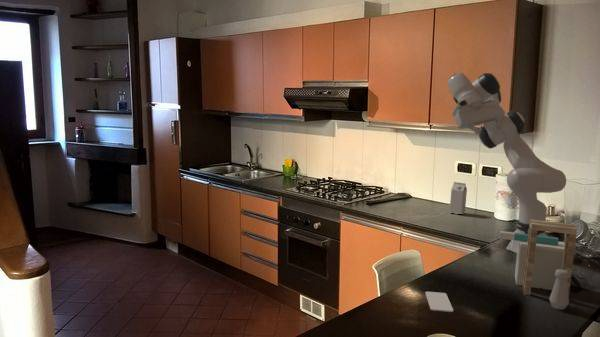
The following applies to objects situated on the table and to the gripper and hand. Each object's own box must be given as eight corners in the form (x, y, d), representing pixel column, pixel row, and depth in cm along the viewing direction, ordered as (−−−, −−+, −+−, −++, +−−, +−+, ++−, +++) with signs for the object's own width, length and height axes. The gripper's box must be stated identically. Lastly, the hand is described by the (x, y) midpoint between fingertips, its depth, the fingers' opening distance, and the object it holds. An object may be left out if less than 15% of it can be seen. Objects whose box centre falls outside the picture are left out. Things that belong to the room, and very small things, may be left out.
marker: (499, 236, 189) (500, 230, 189) (557, 243, 183) (557, 237, 182) (499, 238, 187) (500, 232, 187) (558, 245, 180) (558, 239, 180)
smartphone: (446, 293, 173) (454, 311, 158) (445, 295, 173) (453, 313, 158) (425, 291, 174) (430, 309, 159) (424, 293, 174) (430, 311, 159)
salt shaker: (551, 302, 169) (555, 266, 167) (569, 307, 165) (574, 270, 163) (546, 307, 164) (551, 270, 162) (565, 312, 161) (570, 274, 159)
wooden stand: (522, 287, 181) (530, 219, 177) (564, 293, 176) (573, 224, 173) (524, 294, 175) (531, 223, 171) (568, 301, 170) (577, 228, 166)
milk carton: (453, 211, 300) (455, 181, 297) (464, 213, 296) (467, 182, 293) (449, 213, 294) (451, 182, 291) (461, 215, 290) (463, 184, 287)
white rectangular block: (514, 275, 193) (518, 236, 191) (559, 282, 188) (564, 242, 185) (516, 284, 184) (520, 243, 181) (564, 291, 178) (569, 249, 176)
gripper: (491, 104, 206) (508, 129, 199) (448, 114, 202) (464, 140, 195) (497, 94, 201) (515, 120, 194) (453, 104, 196) (470, 131, 189)
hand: (489, 130), depth 194 cm, fingers open, 8 cm apart
